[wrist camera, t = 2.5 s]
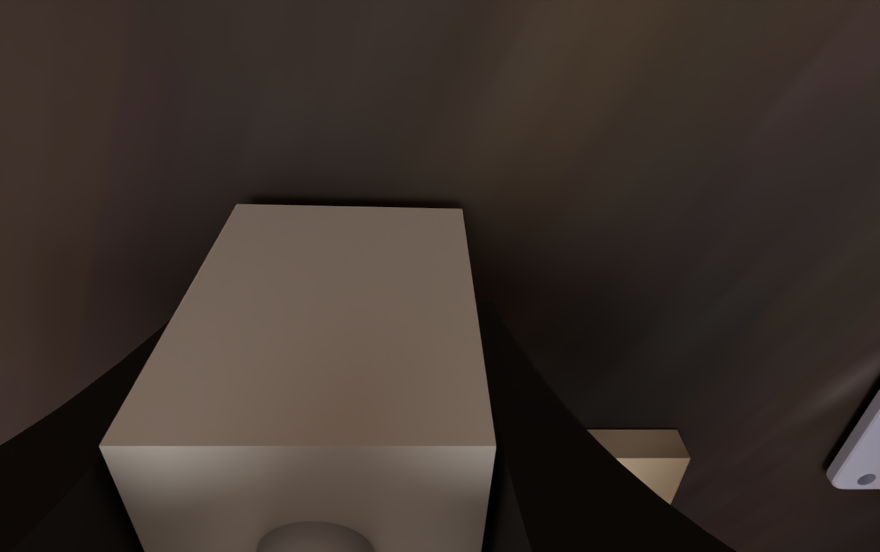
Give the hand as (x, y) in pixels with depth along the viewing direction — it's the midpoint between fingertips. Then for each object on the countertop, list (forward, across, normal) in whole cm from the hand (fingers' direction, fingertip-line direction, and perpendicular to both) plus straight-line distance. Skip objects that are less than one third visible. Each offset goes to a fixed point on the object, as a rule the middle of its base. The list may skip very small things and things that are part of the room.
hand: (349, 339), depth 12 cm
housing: (+1, 0, 0) cm, 1 cm away
